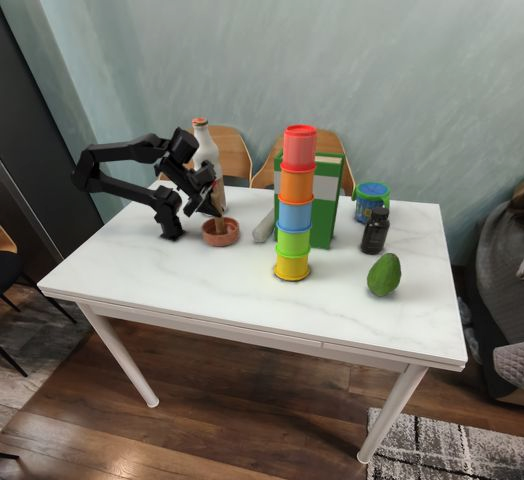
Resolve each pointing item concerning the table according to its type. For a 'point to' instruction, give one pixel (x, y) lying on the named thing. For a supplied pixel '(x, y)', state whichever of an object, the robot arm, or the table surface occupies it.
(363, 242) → the supplement bottle
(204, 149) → the fruit juice
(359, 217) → the snack cup
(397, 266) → the avocado
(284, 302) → the table surface
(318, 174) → the hardback book
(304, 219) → the stacking cups
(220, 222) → the muddler
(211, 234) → the bowl
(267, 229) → the tube
